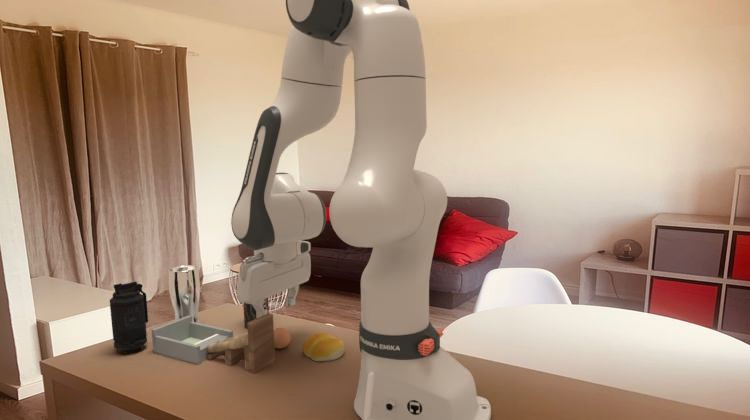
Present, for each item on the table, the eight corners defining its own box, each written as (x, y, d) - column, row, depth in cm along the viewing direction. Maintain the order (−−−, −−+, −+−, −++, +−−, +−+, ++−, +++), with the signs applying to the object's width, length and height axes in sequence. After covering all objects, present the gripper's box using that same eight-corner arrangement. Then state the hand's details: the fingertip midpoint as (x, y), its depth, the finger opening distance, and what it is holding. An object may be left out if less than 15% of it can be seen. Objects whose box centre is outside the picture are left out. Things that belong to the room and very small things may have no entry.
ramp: (275, 361, 101) (272, 314, 99) (254, 373, 96) (251, 323, 94) (225, 349, 107) (222, 304, 106) (203, 359, 102) (200, 313, 101)
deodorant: (262, 330, 118) (259, 269, 116) (240, 329, 119) (236, 268, 117) (273, 322, 123) (270, 263, 122) (251, 320, 125) (248, 262, 123)
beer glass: (165, 332, 118) (160, 271, 116) (184, 322, 125) (180, 264, 123) (190, 335, 116) (186, 272, 114) (208, 324, 123) (204, 265, 121)
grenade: (123, 358, 104) (117, 288, 102) (108, 351, 108) (102, 284, 106) (156, 347, 109) (150, 280, 107) (140, 340, 113) (135, 276, 111)
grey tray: (234, 346, 109) (232, 324, 108) (197, 364, 100) (196, 340, 100) (190, 335, 115) (189, 315, 115) (153, 351, 107) (151, 329, 106)
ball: (295, 345, 108) (294, 326, 108) (282, 353, 105) (281, 333, 104) (279, 342, 111) (278, 323, 110) (266, 349, 107) (265, 330, 106)
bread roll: (321, 366, 99) (320, 347, 98) (296, 353, 105) (296, 335, 105) (353, 354, 104) (353, 336, 103) (328, 342, 111) (328, 325, 110)
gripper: (252, 261, 95) (254, 330, 97) (315, 242, 112) (316, 300, 114) (228, 257, 98) (230, 324, 100) (293, 239, 115) (294, 296, 117)
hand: (276, 311), depth 107 cm, fingers open, 8 cm apart
